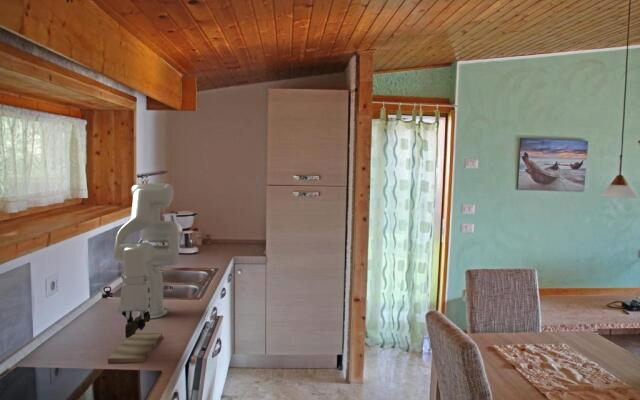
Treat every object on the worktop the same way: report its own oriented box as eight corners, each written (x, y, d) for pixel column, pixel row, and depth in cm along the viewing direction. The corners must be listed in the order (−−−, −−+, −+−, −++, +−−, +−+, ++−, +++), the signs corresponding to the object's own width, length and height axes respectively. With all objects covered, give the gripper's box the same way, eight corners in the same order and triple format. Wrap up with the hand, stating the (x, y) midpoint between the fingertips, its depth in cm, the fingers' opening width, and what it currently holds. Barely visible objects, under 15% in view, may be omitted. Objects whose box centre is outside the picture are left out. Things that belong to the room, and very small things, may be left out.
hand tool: (140, 321, 185) (140, 309, 185) (150, 321, 185) (150, 309, 185) (118, 339, 166) (117, 326, 166) (129, 339, 166) (129, 326, 166)
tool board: (131, 337, 188) (131, 333, 188) (162, 336, 189) (162, 333, 189) (107, 362, 164) (107, 358, 164) (143, 362, 165) (143, 357, 165)
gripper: (160, 277, 178) (161, 325, 180) (116, 277, 178) (117, 325, 179) (155, 282, 171) (156, 332, 172) (108, 282, 170) (109, 332, 171)
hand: (136, 328), depth 176 cm, fingers closed on hand tool, 3 cm apart
